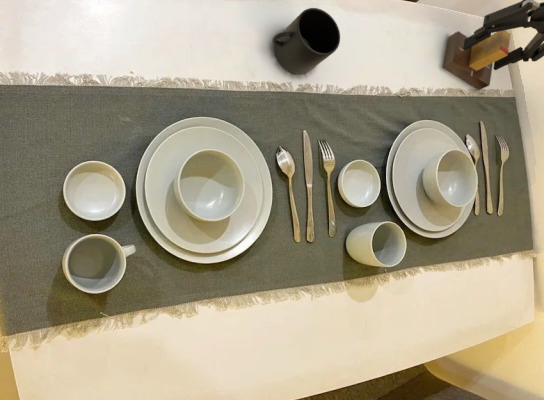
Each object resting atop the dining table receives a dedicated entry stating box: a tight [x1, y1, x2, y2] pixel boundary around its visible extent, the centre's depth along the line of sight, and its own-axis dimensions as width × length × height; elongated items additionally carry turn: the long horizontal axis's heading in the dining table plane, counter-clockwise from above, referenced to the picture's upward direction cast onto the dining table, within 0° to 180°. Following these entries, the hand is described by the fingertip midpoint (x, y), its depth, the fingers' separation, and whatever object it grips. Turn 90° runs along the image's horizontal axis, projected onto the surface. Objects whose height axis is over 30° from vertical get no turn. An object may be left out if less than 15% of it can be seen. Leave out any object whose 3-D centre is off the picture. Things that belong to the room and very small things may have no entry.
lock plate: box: [442, 30, 494, 91], centre depth 114 cm, size 12×10×3 cm
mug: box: [271, 7, 341, 76], centre depth 91 cm, size 9×12×9 cm
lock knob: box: [469, 30, 511, 71], centre depth 109 cm, size 6×2×8 cm, turn 159°
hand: (480, 55), depth 111 cm, fingers open, 9 cm apart
